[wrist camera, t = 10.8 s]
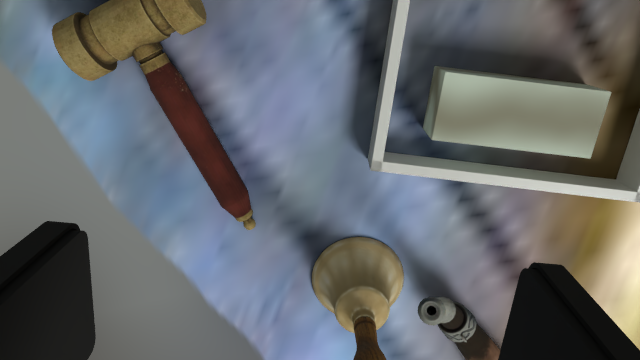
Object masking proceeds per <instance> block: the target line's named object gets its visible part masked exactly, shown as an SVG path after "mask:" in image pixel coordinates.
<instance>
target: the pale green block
mask: <svg viewBox="0 0 640 360" xmlns="http://www.w3.org/2000/svg"><path fill="white" fill-rule="evenodd" d="M610 95H611V92H610V91H607V90H603V89H600V88H597V87H593V86H590V85H587V84H580V83H572V82H564V81H555V80H547V79H539V78H531V77H522V76H514V75H506V74H498V73H489V72H481V71H473V70H465V69H456V68H448V67H440V66H434V71H433V77H432V82H431V87H430V92H429V98H428V103H427V108H426V114H425V119H424V124H423V129H424V131H425V132H426V133H427V134H428V136H429V137H430V138H431V140H436V141H445V142H454V143H462V144H471V145H479V146H488V147H496V148H505V149H513V150H522V151H530V152H539V153H547V154H556V155H564V156H573V157H581V158H590V159H591V155H592V152H593V149H594V146H595V143H596V139H597V136H598V133H599V130H600V127H601V123H602V120H603V117H604V114H605V111H606V108H607V104H608V101H609V98H610Z"/></svg>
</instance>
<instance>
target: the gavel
mask: <svg viewBox="0 0 640 360" xmlns="http://www.w3.org/2000/svg"><path fill="white" fill-rule="evenodd" d="M205 23H206V12H205V9H204V6H203V3H202V1H201V0H110V1H108V2H106V3H104V4H102V5H100V6H98V7H96V8H95V9H93V10H91V11H90V12H89V15H86V14H84V13H81V12H77V13H75V14H73V15H71V16H69V17H67V18H66V19H64V20H62V21H60V22H58V23H56V24H55V25H54V26H53V29H52V36H53V40H54V44H55V47H56V49H57V51H58V53H59V55H60V56H61V58H62V59H63V61H64V62H65V63H66V65H67V66H68V67H69V68H70V69H71V70H72V71H73V72H75V73H76V74H77V75H79V76H80V77H82V78H83V79H86V80H89V81H93V80H96V79H98V78H100V77H102V76H104V75H106V74H108V73H110V72H111V71H113V70H115V69H116V67H117V61H118V60H121V61H122V60H125V59H127V58H129V57H131V56H133V57H134V58H135V60H136V62H137V61H139V62H140V64H141V65H140V68H141V69H142V71H143V72H144V74H145V76H146V79H147V81H148V84H149V86H150V89H151V91H152V93H153V94H154V96H155V98H156V99H157V101H158V103H159V104H160V106H161V108H162V109H163V111H164V113H165V114H166V116H167V118H168V119H169V121H170V122H171V124H172V126H173V127H174V129H175V131H176V132H177V134H178V136H179V137H180V139H181V141H182V142H183V144H184V146H185V147H186V149H187V150H188V152H189V154H190V155H191V157H192V159H193V160H194V162H195V164H196V165H197V167H198V169H199V170H200V172H201V174H202V175H203V177H204V179H205V180H206V182H207V183H208V185H209V187H210V188H211V190H212V192H213V193H214V195H215V197H216V198H217V200H218V202H219V203H220V205H221V206H222V207H223V208H224V209H225V210H226V211H228V212H229V213H230V214H231V215H233V216H234V217H235V218H236V220H237V221H239V222H242V221H243V223H244V227H245V228H246V229H247V230H251V229H253V228H254V227H255V225H256V223H255V221H254V219H252V218H251V216H252V214H253V211H252V209H251V205H250V200H249V194H248V190H247V189H246V187H245V185H244V184H243V182H242V180H241V178H240V177H239V175H238V173H237V171H236V170H235V168H234V166H233V164H232V163H231V161H230V159H229V157H228V156H227V154H226V152H225V150H224V149H223V147H222V145H221V144H220V142H219V140H218V138H217V137H216V135H215V133H214V131H213V130H212V128H211V126H210V124H209V123H208V121H207V119H206V117H205V116H204V114H203V112H202V111H201V109H200V107H199V105H198V104H197V102H196V100H195V98H194V97H193V95H192V93H191V91H190V90H189V88H188V86H187V84H186V83H185V81H184V79H183V77H182V76H181V74H180V73H179V72H178V71H177V69H176V68H175V67H174V66H173V64H172V63H171V62H170V60H169V59H168V57H167V55H166V53H163V52H162V51H161V49H163V48H162V46H161V44H160V41H162V40H164V39H166V38H168V37H170V35H171V33H173V32H175V31H177V32H178V33H179V34H182V35H184V34H186V33H188V32H190V31H192V30H194V29H196V28H198V27H200V26H202V25H204V24H205Z"/></svg>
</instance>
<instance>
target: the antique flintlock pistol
mask: <svg viewBox="0 0 640 360" xmlns="http://www.w3.org/2000/svg"><path fill="white" fill-rule="evenodd" d="M418 314H419V317H420V319H421V320H422V321H423V322H424V323H426V324H428V325H438V326H439V328H440V329H441V330H442V332H443V333H444V334H445V336H446V337H447V338H448V339H449V340H451V341H453V342H455V343H456V345H457V346H458V348H459V350H460V351H461V353H462V354H463V356H464V357H465V359H466V360H498V358H499V354H500V349H499V348H498V347H497V346H496V345H495V344H494V342H493V341H492V340H491V339H490V338H489V337H488V336H487V335H486V333H485V332H484V331H483V330H482V329H481V328H480V327H479V326H478V325H477V324H476V320H475V317H474V316H473V315H472V313H471V312H470V311H469V310H467V309H466V308H465V307H464V306H463V305H461V304H459V303H457V302H452V301H451V299H449V298H447V297H436V298H435V297H428V298H425V299H423V300H422V301H421V302H420V304H419V306H418Z"/></svg>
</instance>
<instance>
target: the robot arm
mask: <svg viewBox="0 0 640 360" xmlns="http://www.w3.org/2000/svg"><path fill="white" fill-rule="evenodd" d="M88 248H89V247H88V237H87V234H86V232H85V231H80V229H79V226H78V225H77V224H74V223H64V222H52V221H47V222H45V223H43V224H42V225H41V226H39V227H38V228H37V229H35V230H34V231H33V232H31V233H30V234H29V235H28V236H26V237H25V238H24V239H22V240H21V241H20V242H18V243H17V244H16V245H15V246H13V247H12V248H11V249H9V250H8V251H7V252H6V253H4V254H3V255H2V256H0V360H87V359H88V358H89V356H90V355H91V353H92V351H93V348H94V344H95V324H94V311H93V299H92V286H91V273H90V260H89V249H88ZM498 360H640V350H639V349H638V348H637V347H636V346H635V345H634V344H633V342H632V341H631V340H630V339H629V338H628V337H627V336H626V335H625V334H624V333H623V331H622V330H621V329H620V328H619V327H618V326H617V325H616V324H615V323H614V321H613V320H612V319H611V318H610V317H609V316H608V315H607V314H606V313H605V311H604V310H603V309H602V308H601V307H600V306H599V305H598V304H597V303H596V302H595V300H594V299H593V298H592V297H591V296H590V295H589V294H588V293H587V292H586V290H585V289H584V288H583V287H582V286H581V285H580V284H579V283H578V282H577V281H576V279H575V278H574V277H573V276H572V275H571V274H570V273H569V272H568V271H567V269H566V268H565V267H564V266H562V265H557V264H545V263H532V264H531V265H530V267H529V269H526V268H524V269H523V270H522V271H521V273H520V276H519V280H518V284H517V288H516V292H515V296H514V300H513V304H512V308H511V312H510V315H509V319H508V323H507V327H506V331H505V335H504V339H503V343H502V347H501V350H500V354H499V358H498Z"/></svg>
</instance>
